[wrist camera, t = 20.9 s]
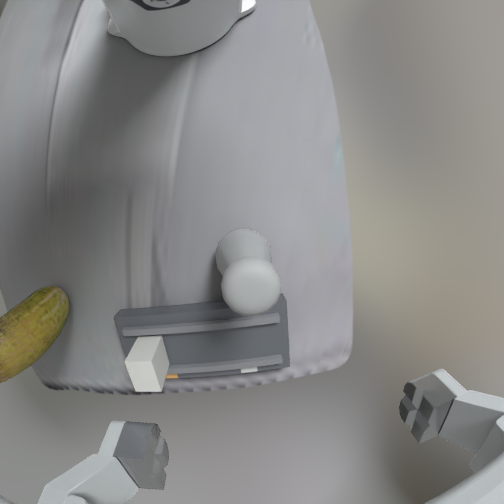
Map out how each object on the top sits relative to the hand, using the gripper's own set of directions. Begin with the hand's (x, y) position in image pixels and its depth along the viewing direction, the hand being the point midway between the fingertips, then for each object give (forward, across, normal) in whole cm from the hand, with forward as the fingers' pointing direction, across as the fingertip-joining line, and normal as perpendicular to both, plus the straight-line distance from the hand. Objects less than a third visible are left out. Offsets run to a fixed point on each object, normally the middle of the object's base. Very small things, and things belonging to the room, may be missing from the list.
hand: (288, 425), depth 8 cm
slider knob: (+22, +12, +10) cm, 27 cm away
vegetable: (+25, +25, +4) cm, 35 cm away
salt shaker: (+25, 0, 0) cm, 25 cm away
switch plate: (+25, +6, +10) cm, 28 cm away
